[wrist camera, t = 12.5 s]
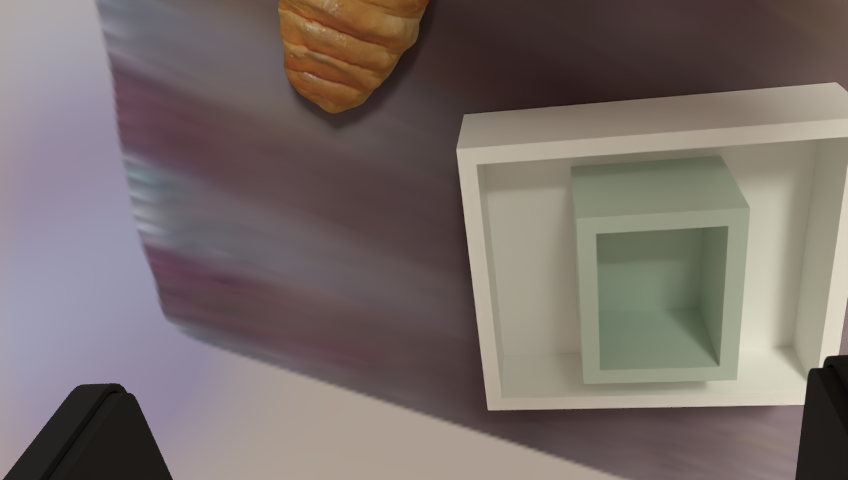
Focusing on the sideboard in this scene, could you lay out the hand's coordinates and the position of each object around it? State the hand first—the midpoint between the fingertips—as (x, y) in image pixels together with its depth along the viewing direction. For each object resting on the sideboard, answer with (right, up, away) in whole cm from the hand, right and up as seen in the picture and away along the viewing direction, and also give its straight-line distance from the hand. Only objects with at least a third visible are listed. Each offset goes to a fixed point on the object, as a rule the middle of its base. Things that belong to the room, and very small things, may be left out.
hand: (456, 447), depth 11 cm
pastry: (-3, +14, +25) cm, 29 cm away
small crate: (+11, +3, +28) cm, 30 cm away
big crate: (+11, +3, +29) cm, 31 cm away
